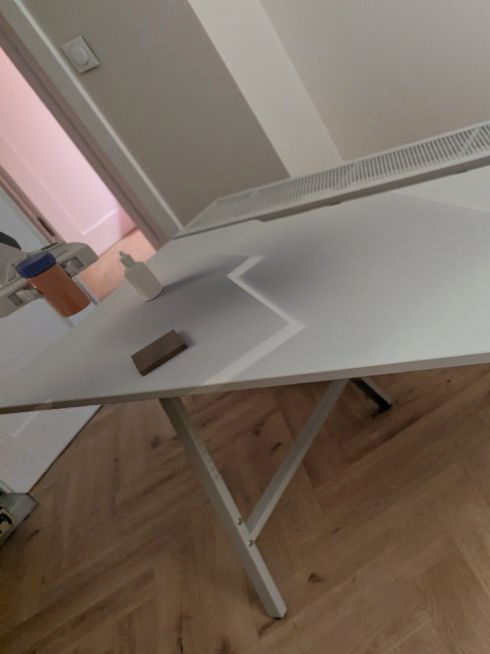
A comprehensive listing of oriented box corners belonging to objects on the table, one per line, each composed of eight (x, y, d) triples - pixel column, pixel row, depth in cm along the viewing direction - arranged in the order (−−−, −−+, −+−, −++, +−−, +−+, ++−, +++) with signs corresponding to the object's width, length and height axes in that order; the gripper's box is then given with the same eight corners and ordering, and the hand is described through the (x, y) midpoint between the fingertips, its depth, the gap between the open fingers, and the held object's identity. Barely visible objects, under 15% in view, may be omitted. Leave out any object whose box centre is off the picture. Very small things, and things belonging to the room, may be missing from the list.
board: (142, 376, 97) (139, 372, 97) (133, 359, 104) (130, 356, 103) (187, 347, 100) (184, 343, 100) (176, 332, 107) (173, 329, 106)
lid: (24, 281, 95) (14, 272, 94) (22, 274, 99) (13, 265, 98) (58, 263, 97) (49, 254, 96) (55, 256, 102) (47, 247, 100)
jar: (63, 321, 101) (18, 274, 94) (60, 312, 105) (17, 267, 98) (93, 303, 103) (51, 257, 96) (89, 296, 107) (48, 251, 101)
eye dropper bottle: (140, 300, 127) (104, 258, 120) (160, 286, 130) (126, 244, 123) (148, 302, 124) (112, 259, 117) (169, 288, 127) (134, 244, 120)
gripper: (-34, 294, 101) (-17, 303, 92) (68, 235, 111) (92, 238, 103) (-7, 320, 105) (12, 331, 96) (90, 261, 115) (115, 266, 107)
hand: (54, 282), depth 100 cm, fingers closed on jar, 6 cm apart
